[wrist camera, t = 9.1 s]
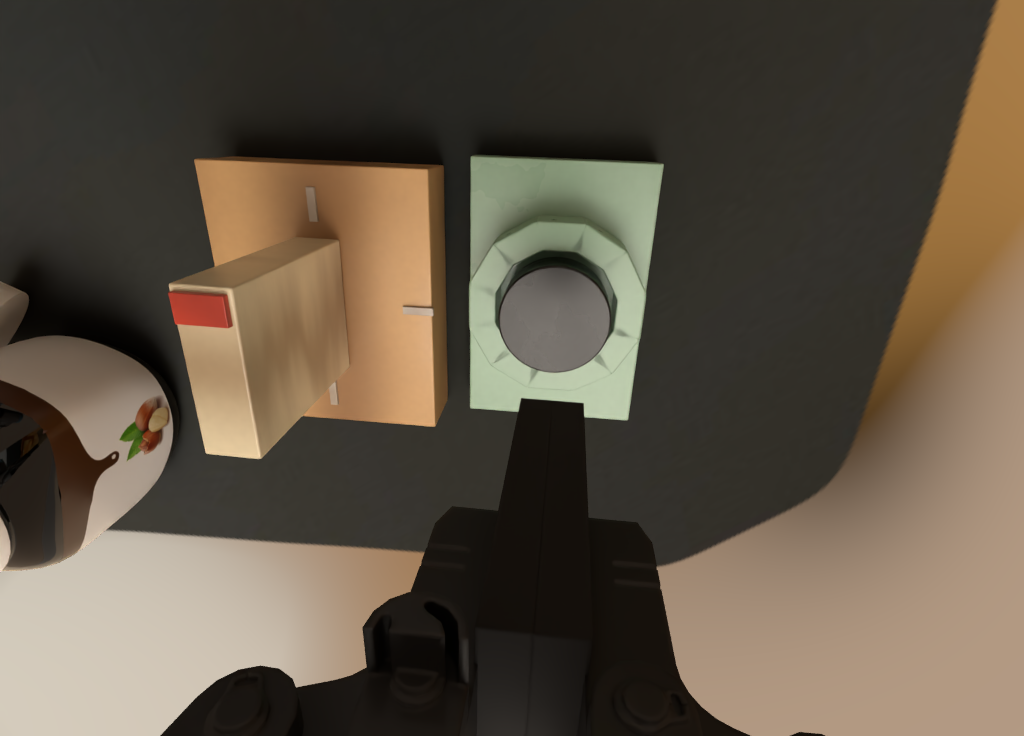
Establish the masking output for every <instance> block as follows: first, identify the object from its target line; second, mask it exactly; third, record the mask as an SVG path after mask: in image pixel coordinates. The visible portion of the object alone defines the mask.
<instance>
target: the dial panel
mask: <svg viewBox="0 0 1024 736" xmlns="http://www.w3.org/2000/svg"><path fill="white" fill-rule="evenodd" d="M194 161H195V166H196V172H197V177H198V182H199V187H200V192H201V197H202V202H203V208H204V213H205V218H206V223H207V228H208V233H209V238H210V244H211V249H212V254H213V259H214V264H215V266H218V265H221V264H224V263H226V262H229V261H232V260H234V259H237V258H240V257H243V256H245V255H248V254H251V253H254V252H256V251H259V250H262V249H264V248H267V247H270V246H273V245H275V244H278V243H281V242H284V241H286V240H289V239H292V238H294V237H304V238H318V239H333V240H339V246H340V258H341V270H342V282H343V294H344V306H345V317H346V329H347V341H348V353H349V365H350V366H349V368H348V369H347V370H346V371H345V372H344V373H343V374H342V375H341V376H340V377H339V378H338V379H337V380H336V381H335V382H334V383H333V384H332V385H331V386H330V387H329V388H328V389H327V390H326V392H325V393H324V394H323V395H322V396H321V397H320V398H319V399H318V400H317V401H316V402H315V403H314V404H313V405H312V406H311V407H310V408H309V409H308V410H307V411H306V412H305V413H304V414H303V416H310V417H322V418H334V419H347V420H359V421H371V422H383V423H395V424H408V425H420V426H432V427H435V426H436V423H437V421H438V419H439V417H440V415H441V413H442V411H443V408H444V406H445V404H446V402H447V400H448V383H447V323H446V264H445V205H444V166H443V165H426V164H402V163H379V162H355V161H331V160H308V159H284V158H260V157H237V156H234V157H218V158H201V159H195V160H194Z"/></svg>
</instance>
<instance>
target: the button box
mask: <svg viewBox="0 0 1024 736" xmlns="http://www.w3.org/2000/svg"><path fill="white" fill-rule="evenodd" d="M663 167H664V164H662V163H658V162H644V161H620V160H595V159H570V158H546V157H521V156H496V155H474V156H471V184H470V282H469V283H470V284H469V329H470V408H476V409H488V410H501V411H514V412H518V411H519V406H520V401H521V398H527V399H540V400H552V401H565V402H578V403H584V417H590V418H603V419H616V420H628V417H629V409H630V402H631V395H632V388H633V381H634V374H635V367H636V360H637V352H638V345H639V340H640V337H641V331H642V324H643V317H644V310H645V302H646V288H647V281H648V274H649V267H650V260H651V253H652V245H653V238H654V231H655V224H656V217H657V210H658V203H659V196H660V188H661V181H662V174H663ZM547 257H565V258H570V259H573V260H576V261H578V262H581V263H582V264H584V265H586V266H587V267H588V268H590V269H591V270H592V271H593V272H594V273H595V274H596V275H597V276H598V277H599V279H600V280H601V282H602V283H603V285H604V287H605V290H606V292H607V296H608V300H609V305H610V309H611V317H612V319H611V329H610V333H609V336H608V339H607V341H606V343H605V345H604V346H603V348H602V349H601V351H600V352H599V353H598V354H597V355H596V356H595V357H594V358H593V359H592V360H591V361H590V362H588V363H587V364H585V365H583V366H581V367H579V368H577V369H574V370H571V371H567V372H560V373H549V372H543V371H539V370H536V369H533V368H530V367H528V366H527V365H525V364H523V363H522V362H520V361H519V360H518V359H517V358H515V357H514V356H513V355H512V353H511V352H510V351H509V350H508V348H507V347H506V345H505V344H504V342H503V339H502V337H501V334H500V331H499V325H498V313H499V307H500V303H501V301H502V298H503V296H504V293H505V291H506V288H507V286H508V284H509V283H510V281H511V280H512V278H513V277H514V275H515V274H516V273H517V272H518V271H519V270H521V269H522V268H523V267H524V266H526V265H528V264H529V263H531V262H533V261H536V260H538V259H542V258H547Z"/></svg>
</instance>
